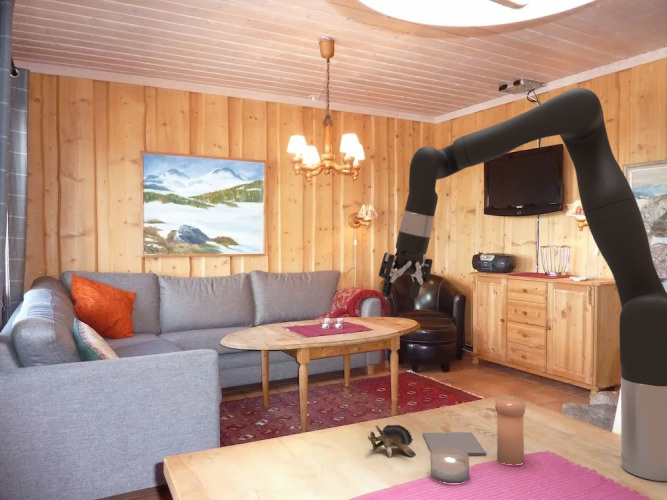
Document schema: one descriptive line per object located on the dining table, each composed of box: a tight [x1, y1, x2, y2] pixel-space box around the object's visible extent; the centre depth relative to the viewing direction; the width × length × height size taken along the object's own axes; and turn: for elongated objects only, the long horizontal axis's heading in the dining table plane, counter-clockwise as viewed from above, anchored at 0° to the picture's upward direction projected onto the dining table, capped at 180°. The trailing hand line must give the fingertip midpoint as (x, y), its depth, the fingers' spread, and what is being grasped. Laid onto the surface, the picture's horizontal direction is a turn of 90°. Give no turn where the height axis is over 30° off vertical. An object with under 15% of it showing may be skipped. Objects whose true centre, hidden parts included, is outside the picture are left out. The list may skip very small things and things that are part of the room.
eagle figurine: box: [367, 424, 417, 459], centre depth 103 cm, size 8×7×9 cm
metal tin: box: [429, 447, 470, 483], centre depth 93 cm, size 7×7×4 cm
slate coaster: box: [422, 431, 487, 457], centre depth 107 cm, size 11×11×1 cm
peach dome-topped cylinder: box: [494, 396, 526, 465], centre depth 99 cm, size 6×6×12 cm
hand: (399, 297), depth 121 cm, fingers open, 8 cm apart
